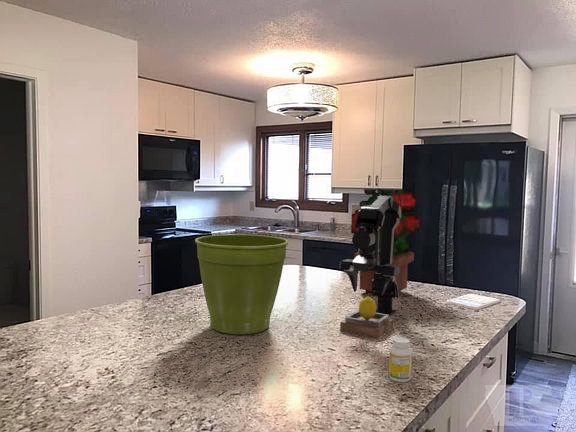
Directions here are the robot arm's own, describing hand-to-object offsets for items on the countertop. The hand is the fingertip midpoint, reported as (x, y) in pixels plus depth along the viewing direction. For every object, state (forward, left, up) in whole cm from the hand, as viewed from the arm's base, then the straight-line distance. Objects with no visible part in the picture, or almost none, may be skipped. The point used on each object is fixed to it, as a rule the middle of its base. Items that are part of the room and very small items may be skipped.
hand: (368, 293), depth 156 cm
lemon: (0, 0, -9) cm, 9 cm away
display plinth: (0, 0, -12) cm, 12 cm away
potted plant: (-53, -15, -12) cm, 57 cm away
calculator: (-59, +21, -13) cm, 64 cm away
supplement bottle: (+32, +22, -12) cm, 41 cm away
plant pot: (+22, -35, -12) cm, 43 cm away
